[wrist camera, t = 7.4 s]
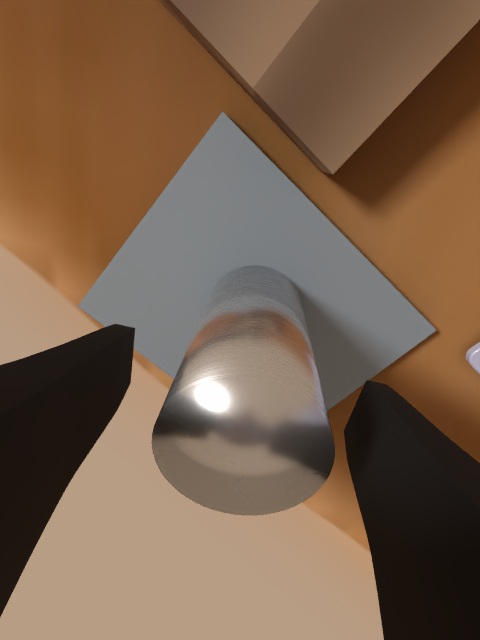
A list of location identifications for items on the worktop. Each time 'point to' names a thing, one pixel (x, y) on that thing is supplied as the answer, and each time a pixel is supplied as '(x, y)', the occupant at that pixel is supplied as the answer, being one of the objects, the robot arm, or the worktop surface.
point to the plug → (247, 402)
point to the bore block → (327, 59)
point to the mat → (251, 249)
